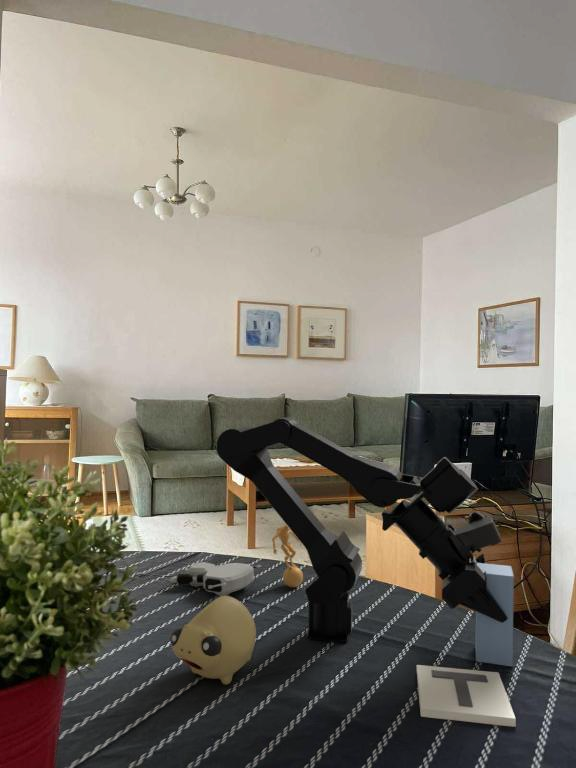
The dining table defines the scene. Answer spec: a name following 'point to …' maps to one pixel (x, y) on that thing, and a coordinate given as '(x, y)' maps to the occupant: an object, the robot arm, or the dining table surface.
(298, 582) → the figurine
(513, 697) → the dining table surface
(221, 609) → the beige rounded figure
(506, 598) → the slate post
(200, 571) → the robot toy
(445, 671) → the letter card
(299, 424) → the robot arm
